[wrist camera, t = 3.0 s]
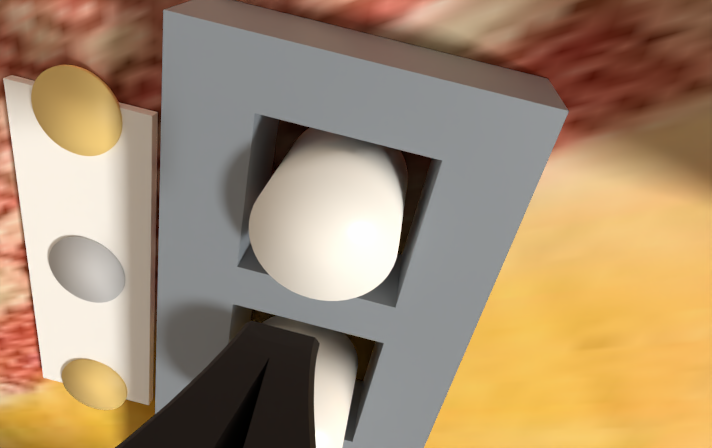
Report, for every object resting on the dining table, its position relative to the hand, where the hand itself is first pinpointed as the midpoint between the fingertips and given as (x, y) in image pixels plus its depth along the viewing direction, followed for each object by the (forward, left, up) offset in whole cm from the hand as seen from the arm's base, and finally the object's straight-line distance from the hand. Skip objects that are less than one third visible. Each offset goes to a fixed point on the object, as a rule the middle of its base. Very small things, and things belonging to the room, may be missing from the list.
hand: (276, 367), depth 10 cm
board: (-6, 0, -9) cm, 11 cm away
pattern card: (-6, +9, -9) cm, 14 cm away
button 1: (0, 0, -9) cm, 9 cm away
